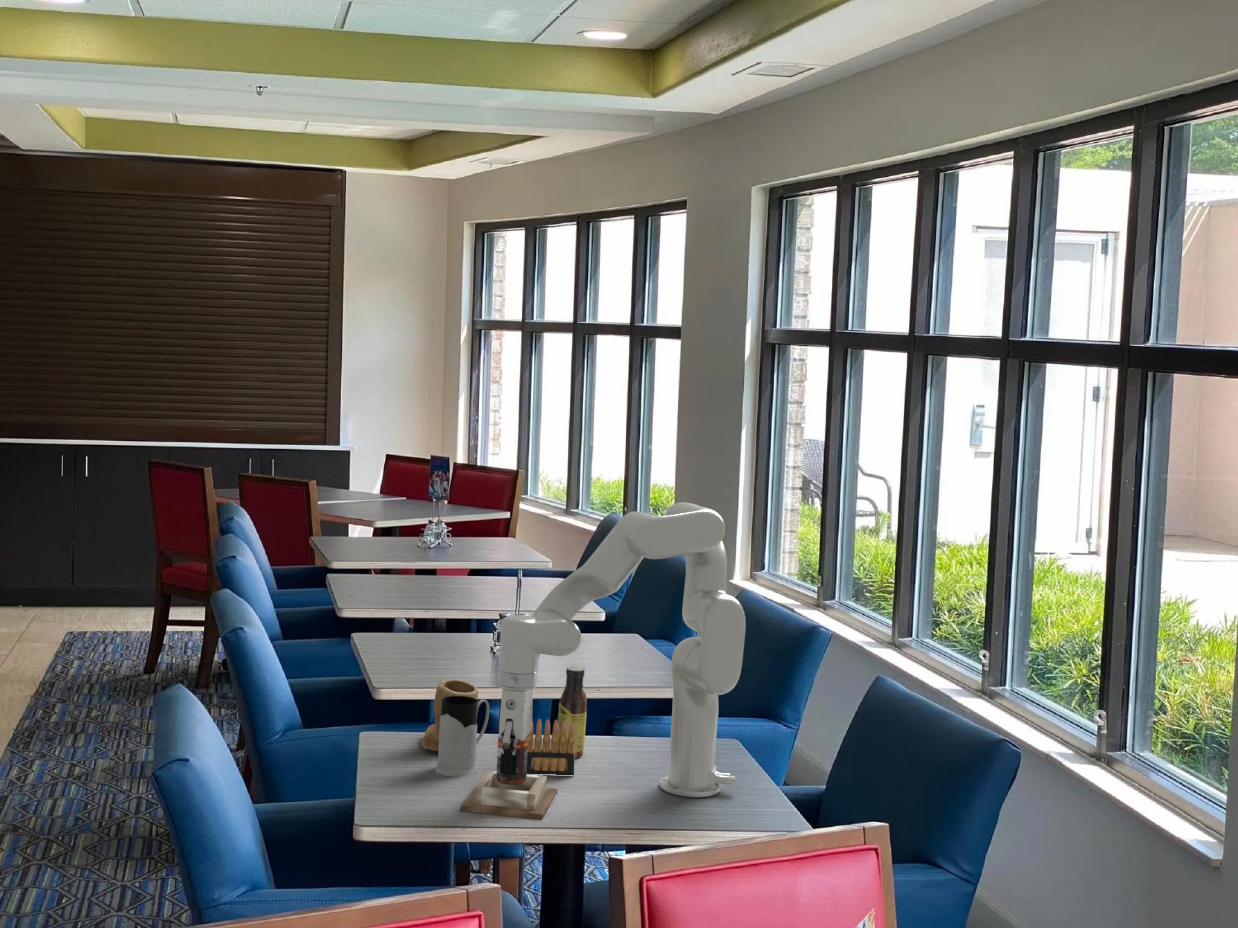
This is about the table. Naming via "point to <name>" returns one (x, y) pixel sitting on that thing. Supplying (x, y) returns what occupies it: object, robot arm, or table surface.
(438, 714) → the tan boot
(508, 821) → the table surface
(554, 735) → the ammunition clip
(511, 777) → the supplement bottle
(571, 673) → the sauce bottle
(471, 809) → the board
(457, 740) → the black and white mug
